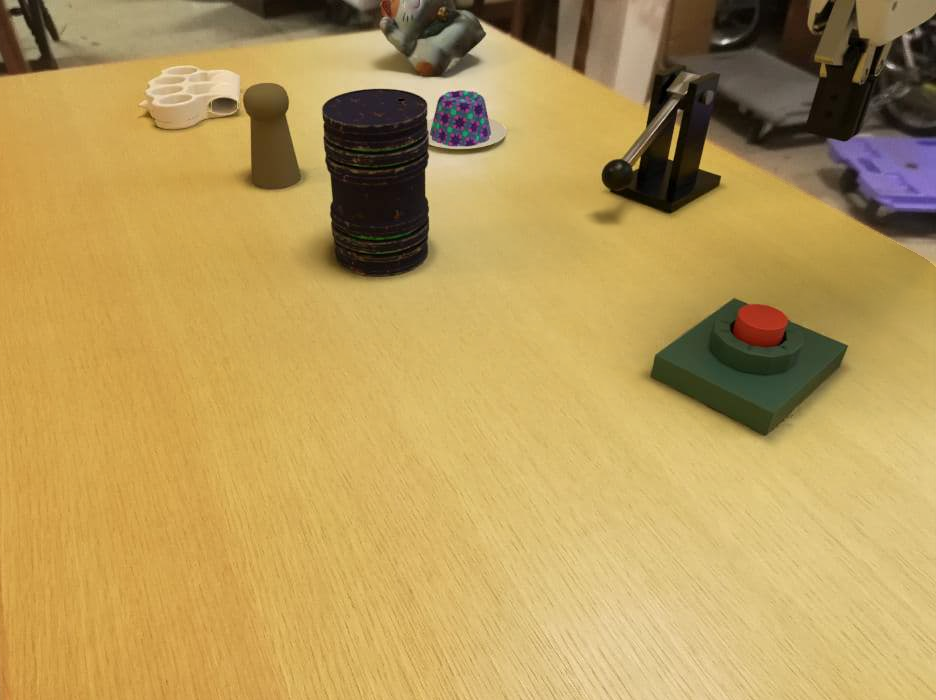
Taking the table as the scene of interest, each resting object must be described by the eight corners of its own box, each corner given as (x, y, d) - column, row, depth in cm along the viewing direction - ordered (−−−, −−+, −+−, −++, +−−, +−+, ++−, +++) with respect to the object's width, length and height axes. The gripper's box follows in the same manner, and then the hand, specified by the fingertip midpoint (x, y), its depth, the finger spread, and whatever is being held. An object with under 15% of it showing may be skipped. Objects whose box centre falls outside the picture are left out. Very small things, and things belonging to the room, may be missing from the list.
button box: (765, 435, 58) (781, 393, 56) (650, 376, 64) (659, 335, 61) (839, 367, 64) (856, 326, 61) (728, 318, 70) (739, 279, 67)
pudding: (524, 134, 104) (527, 94, 101) (466, 162, 98) (467, 120, 94) (455, 114, 111) (455, 75, 107) (396, 139, 104) (395, 99, 101)
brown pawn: (310, 173, 97) (301, 81, 89) (281, 192, 93) (268, 98, 86) (271, 164, 99) (259, 74, 92) (241, 182, 95) (226, 90, 88)
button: (767, 354, 60) (773, 335, 59) (723, 334, 62) (729, 316, 61) (790, 335, 61) (796, 316, 60) (747, 316, 64) (753, 298, 62)
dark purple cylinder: (362, 287, 76) (352, 135, 66) (317, 246, 82) (302, 102, 73) (448, 258, 79) (450, 110, 70) (398, 221, 86) (394, 81, 76)
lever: (623, 200, 82) (618, 180, 80) (598, 191, 84) (592, 171, 82) (706, 96, 84) (704, 73, 81) (680, 89, 86) (677, 66, 83)
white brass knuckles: (240, 124, 110) (134, 133, 109) (242, 83, 124) (148, 90, 122) (236, 100, 108) (128, 108, 107) (239, 61, 122) (143, 68, 120)
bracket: (670, 213, 86) (695, 94, 77) (609, 191, 90) (627, 76, 82) (719, 185, 91) (747, 70, 82) (659, 166, 95) (680, 55, 87)
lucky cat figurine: (435, 83, 121) (391, -6, 115) (397, 95, 131) (354, 14, 125) (501, 33, 125) (461, -55, 119) (459, 49, 135) (420, -31, 129)
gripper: (953, -170, 39) (835, 182, 50) (1050, -196, 46) (928, 116, 58) (804, -173, 43) (728, 152, 55) (914, -197, 50) (826, 94, 62)
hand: (831, 133), depth 56 cm, fingers closed
